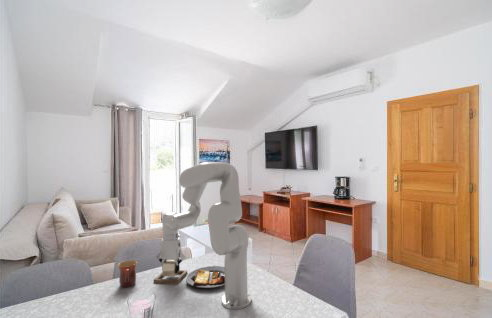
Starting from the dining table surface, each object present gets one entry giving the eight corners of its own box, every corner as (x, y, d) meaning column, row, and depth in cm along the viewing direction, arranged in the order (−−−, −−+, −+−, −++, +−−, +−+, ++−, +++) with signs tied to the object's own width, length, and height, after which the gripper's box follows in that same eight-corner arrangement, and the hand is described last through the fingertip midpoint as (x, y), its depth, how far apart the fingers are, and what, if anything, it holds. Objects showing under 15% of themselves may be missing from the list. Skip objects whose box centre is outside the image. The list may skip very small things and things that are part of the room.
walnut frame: (177, 284, 125) (177, 281, 125) (153, 282, 127) (153, 279, 127) (187, 273, 137) (187, 270, 137) (165, 272, 139) (165, 269, 139)
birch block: (173, 276, 128) (173, 264, 129) (162, 276, 130) (162, 264, 130) (179, 271, 134) (178, 260, 134) (168, 271, 135) (168, 259, 135)
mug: (118, 282, 128) (118, 261, 128) (137, 279, 131) (137, 259, 131) (116, 293, 117) (116, 271, 117) (137, 289, 120) (136, 267, 120)
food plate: (232, 291, 116) (232, 283, 116) (181, 292, 117) (181, 284, 117) (235, 270, 141) (235, 263, 141) (193, 271, 142) (193, 264, 142)
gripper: (189, 235, 134) (189, 269, 134) (158, 234, 137) (159, 268, 137) (183, 239, 127) (183, 276, 127) (151, 238, 130) (151, 274, 130)
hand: (170, 271), depth 132 cm, fingers closed on birch block, 6 cm apart
